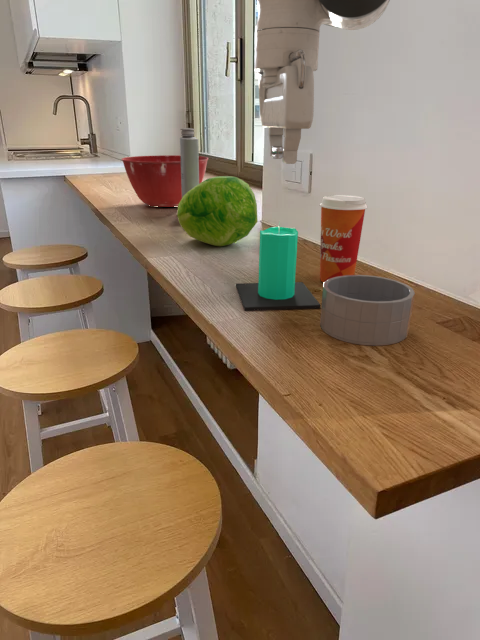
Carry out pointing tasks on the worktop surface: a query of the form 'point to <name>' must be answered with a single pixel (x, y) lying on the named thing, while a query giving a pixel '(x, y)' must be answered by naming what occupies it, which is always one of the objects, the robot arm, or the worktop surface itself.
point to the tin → (366, 309)
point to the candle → (277, 262)
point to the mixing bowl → (158, 178)
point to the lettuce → (218, 211)
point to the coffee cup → (340, 234)
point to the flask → (189, 160)
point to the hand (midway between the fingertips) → (282, 161)
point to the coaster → (256, 302)
